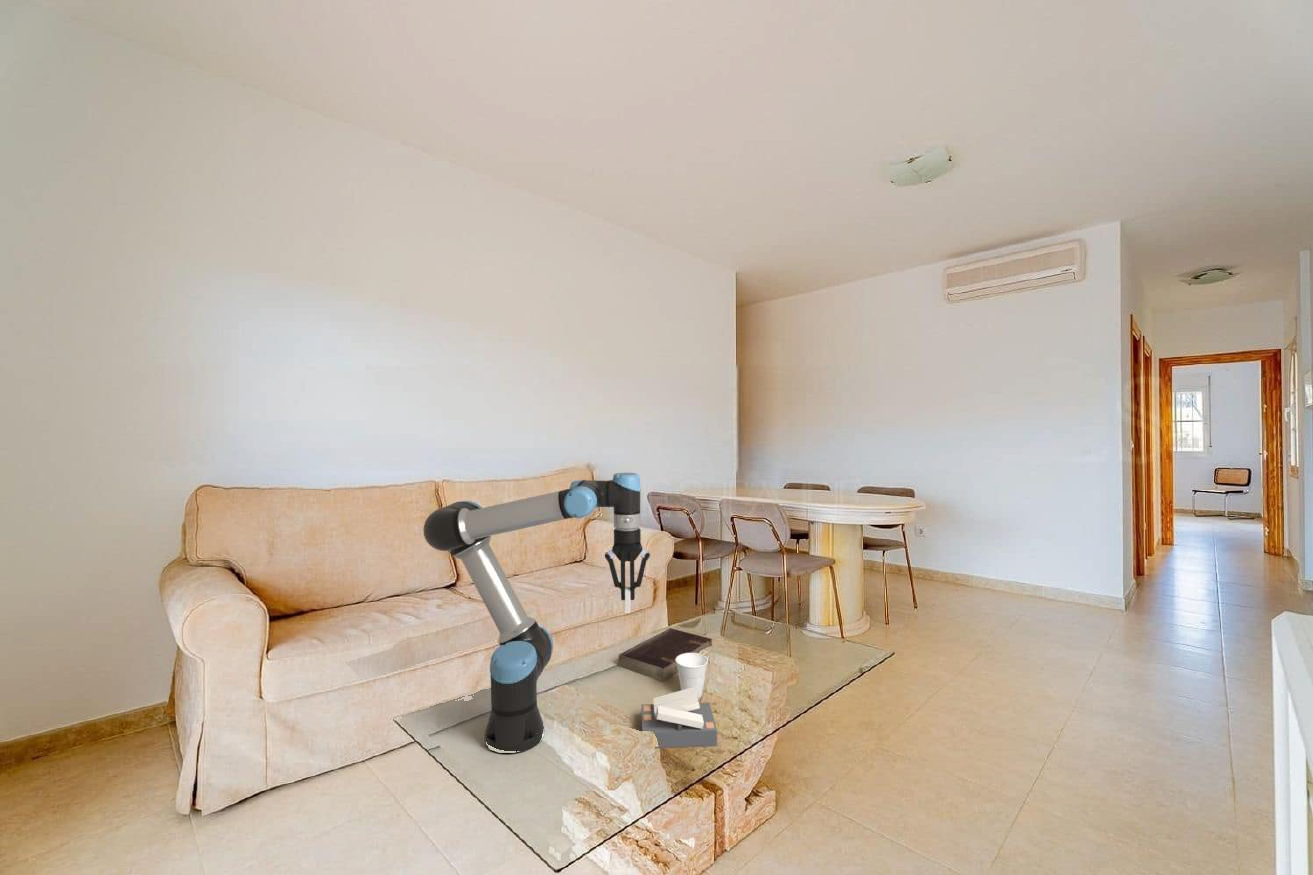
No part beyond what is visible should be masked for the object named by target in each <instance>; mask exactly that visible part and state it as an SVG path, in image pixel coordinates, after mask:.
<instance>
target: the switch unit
mask: <svg viewBox="0 0 1313 875" xmlns="http://www.w3.org/2000/svg"><path fill="white" fill-rule="evenodd" d="M640 706H641V707H640V708H641V714H640V715H641V731H642V730H643V731H651V732H653V733H654V734H655V736H656V738H657V741H658V745H659V748H658V749H665V748H692V747H693V748H694V747H698V748H700V747H716V746H718V730H717V726H716V722H715V718H714V715H713V711H712V708H711V704H710V702H699V706H700V708H699V709H695V710H691V711H688V712H691V713H695V714H700V715H702V717H703V721H704V725H703V729H701V728H696V727H691V726H687V725H682V724H677V723H672V722H668V721H663V720H656V718H655V714H654V703H653V704H652V703H651V704H650V703H649V704H641V705H640Z"/></svg>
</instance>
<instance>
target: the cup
mask: <svg viewBox="0 0 1313 875" xmlns="http://www.w3.org/2000/svg"><path fill="white" fill-rule="evenodd" d="M675 661H676V663H677V669H678V673H677V674H678V678H679V686H680V691H681V690H685V689H688V688H692V687H695V689H696V693H697V697H698V700H699V699H701V697H702V696H703V691H704V685H705V679H706V673H707V667H708V663H709V658H708V657H707V656H706V655H705V656H704V655H702V654H698V653H684V654H681V655H679V656H677V657H676V659H675Z"/></svg>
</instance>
